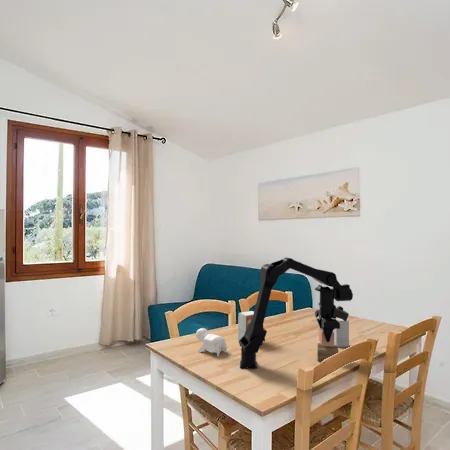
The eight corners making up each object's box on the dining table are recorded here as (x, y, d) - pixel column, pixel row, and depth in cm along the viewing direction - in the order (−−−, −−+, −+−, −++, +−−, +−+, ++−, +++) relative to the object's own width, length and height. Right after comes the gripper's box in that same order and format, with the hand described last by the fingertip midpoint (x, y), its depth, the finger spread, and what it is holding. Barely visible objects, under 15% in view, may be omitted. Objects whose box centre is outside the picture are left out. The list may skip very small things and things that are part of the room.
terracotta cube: (334, 344, 136) (334, 332, 136) (321, 344, 137) (321, 332, 137) (331, 340, 141) (331, 328, 141) (319, 340, 142) (319, 328, 142)
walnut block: (338, 364, 134) (338, 351, 134) (317, 362, 136) (317, 349, 136) (337, 357, 141) (337, 345, 141) (317, 354, 143) (317, 343, 143)
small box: (245, 344, 155) (246, 315, 155) (237, 340, 161) (237, 312, 161) (259, 340, 160) (259, 313, 160) (251, 337, 165) (251, 310, 165)
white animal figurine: (225, 357, 147) (201, 338, 155) (231, 340, 145) (206, 322, 153) (213, 363, 140) (188, 343, 148) (219, 346, 138) (194, 326, 147)
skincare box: (344, 343, 157) (345, 317, 157) (349, 347, 152) (349, 320, 152) (332, 344, 156) (332, 317, 156) (336, 347, 152) (336, 320, 152)
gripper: (353, 307, 129) (353, 348, 129) (340, 297, 148) (340, 333, 148) (324, 306, 130) (323, 347, 130) (314, 296, 149) (314, 332, 149)
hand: (326, 339), depth 139 cm, fingers closed on terracotta cube, 5 cm apart
